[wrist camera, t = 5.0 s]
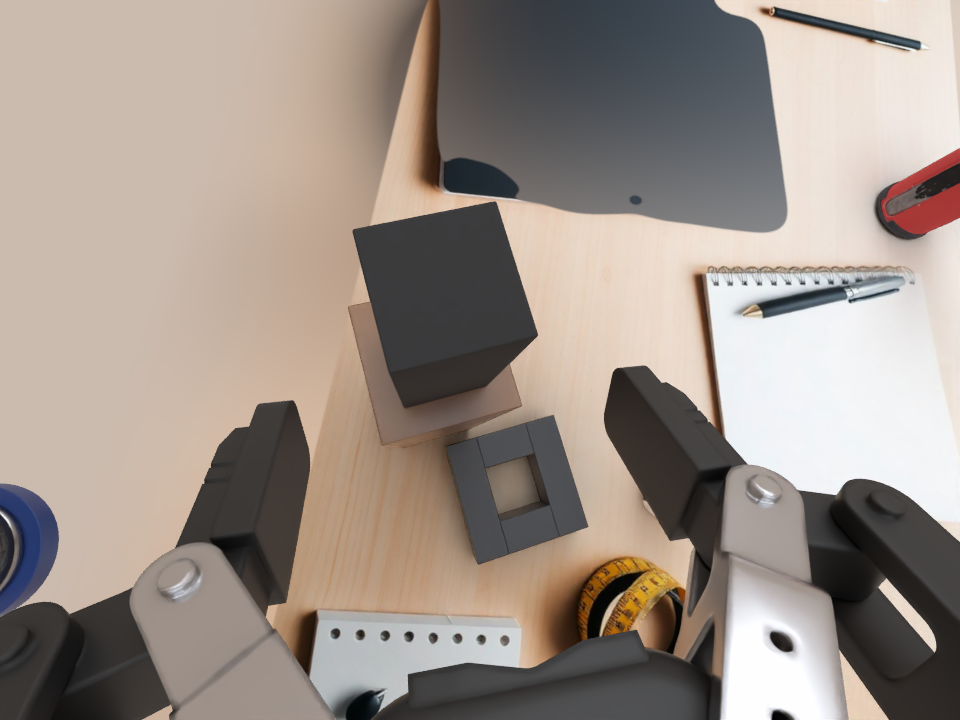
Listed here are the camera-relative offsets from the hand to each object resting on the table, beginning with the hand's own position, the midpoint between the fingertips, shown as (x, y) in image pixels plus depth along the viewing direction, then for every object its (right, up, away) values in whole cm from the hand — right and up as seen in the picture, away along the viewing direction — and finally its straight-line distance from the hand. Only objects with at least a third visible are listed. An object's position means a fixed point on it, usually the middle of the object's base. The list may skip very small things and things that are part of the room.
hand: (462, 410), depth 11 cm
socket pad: (+4, -11, +34) cm, 36 cm away
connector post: (-2, +1, +11) cm, 11 cm away
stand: (-5, -3, +35) cm, 35 cm away
